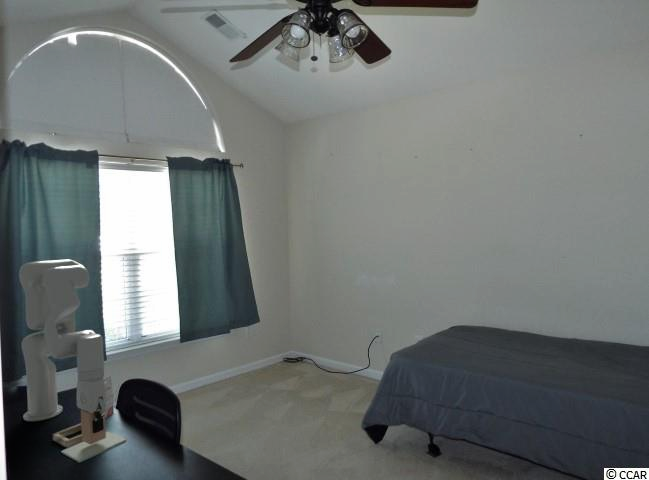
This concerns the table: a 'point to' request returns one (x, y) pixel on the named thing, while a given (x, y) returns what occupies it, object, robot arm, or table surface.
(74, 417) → the table surface
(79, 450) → the sage pad
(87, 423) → the terracotta block
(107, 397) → the ink cartridge box
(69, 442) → the pocket frame
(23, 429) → the table surface
